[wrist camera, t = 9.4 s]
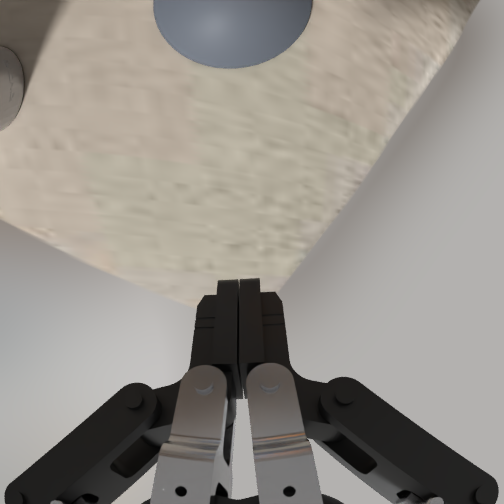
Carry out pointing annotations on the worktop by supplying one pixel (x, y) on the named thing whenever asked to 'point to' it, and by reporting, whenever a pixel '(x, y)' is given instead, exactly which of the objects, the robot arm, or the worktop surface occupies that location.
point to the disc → (231, 29)
